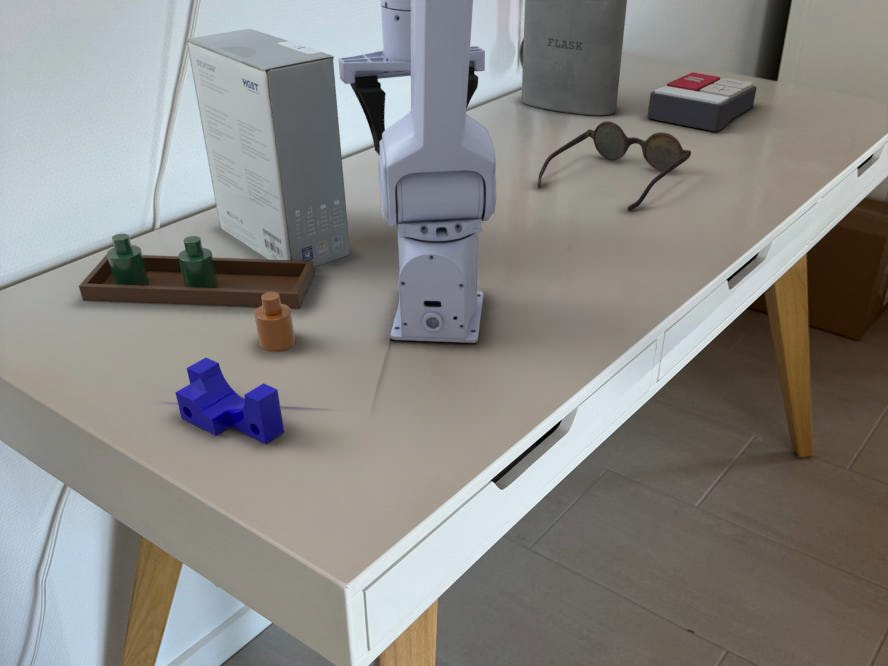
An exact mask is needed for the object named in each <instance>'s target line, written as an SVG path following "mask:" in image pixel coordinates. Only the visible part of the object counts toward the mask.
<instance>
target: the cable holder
mask: <svg viewBox="0 0 888 666" xmlns="http://www.w3.org/2000/svg"><path fill="white" fill-rule="evenodd" d="M186 372H187V376H188V381H189V384H188V385H186V386H184V387H182V388H181V389H179V390H177V391H175V392H174V393H175V398H176V401H177V406H178V409H179V414H180V418H181V419H182V420H183V421H186V422H188V423H190V424H192V425H193V426H196V428H197V427H198V428H200V429H201V430H203V431H205V432H207V433H209V434H212V435H213V436H218V435H219V434H221V433H223V432H224V431H226V430H227V429H229V428H231V429H233V430H236V431H238V432H240V433H242V434H244V435H246V436H248V437H251V438H252V439H254V440H256V441H258V442H260V443H262V444H265V445H267V444H268V443H270V442H271V441H273V440H275V439H276V438H277V437H279V436H280V435H282V434H284V433H285V429H284V421H283V416H282V415H283V414H282V409H281V402H280V397H279V390H278V389H277V388H276V387H273V386H271V385H269V384H268V383H267V384H266V383H264V382H263V383H261V384H259V385H257V387H255V388H253V389H251V390H249V391H248V392H246V393H245V394H243V396H244V397H242V396H241V395H239V393H237V392H236V391H235V390H234V389H233V388H232V387H231V385H230V384H229V382H228V381H227V380H226V378H225V376H224V374H223V372H222V370H221V366H220V363H219V362H218V361H216V360H213V359H211V358H208V357H204V358H202V359H201V360H198V361H197V362H195V363H193V364H190V365H189V366H188V367H186Z"/></svg>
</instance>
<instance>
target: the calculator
mask: <svg viewBox="0 0 888 666" xmlns="http://www.w3.org/2000/svg"><path fill="white" fill-rule="evenodd" d="M757 88H758V87H757V86H755V85H754V82H753V81H747V80H742V79H741V80H740V79H734V78H729V77H723V78H721V76H717V75H712V74H705V73H700V72H689V73H687V74H685V75H683V76H680V77H679V78H676V79H674V80H672V81H669V82H667V83H666V85H663V86H661V87H659V88H656V89H655V90H654V91H651V92H650V94H649V101H648V109H647V119H649V120H654V121H659V122H665V123H669V124H676V125H679V126H685V127H690V128H695V129H699V130H700V129H701V130H705V131H711V132H719V131H721V130H722V129H724V128H726V127H727V125H728V124H729V122H730V121H731V120H732V119H734V118H736V117H738V116H740V115H741V114H743V113H745V112H747V111H748V110H750V109H752V108H753V107H754V104H755V99H756V95H757V94H756V93H757Z"/></svg>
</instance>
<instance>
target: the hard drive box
mask: <svg viewBox="0 0 888 666" xmlns="http://www.w3.org/2000/svg"><path fill="white" fill-rule="evenodd" d="M186 45H187V50H188V51H187V52H188V55H189V56H188V57H189V63H190V66H191V71H192V78H193V83H194V84H193V85H194V89H195V95H196V101H197V108H198V112H199V118H200V123H201V130H202V134H203V140H204V145H205V151H206V157H207V162H208V167H209V168H208V169H209V174H210V178H211V183H212V191H213V195H214V201H215V206H216V213H217V217H218V223H219V227H220V229H221V230H223V231H224V232H226V233H227V234H229V235H231V236H232V237H234V238H235V239H236V240H238V241H239V242H241V243H243V244H244V245H246V246H248V247H249V248H250V249H252V250H253V251H255V252H256V253H258V254H259V255H261V256H263V257H264V259H268V260H296V261H313V266H314V268H315V267H317V266H321V265H323V264H328V263H329V262H333V261H336V260H338V259H342V258H344V257H347V256H349V255H351V249H350V237H349V236H350V235H349V225H348V213H347V201H346V190H345V179H344V178H345V177H344V168H343V157H342V145H341V135H340V123H339V113H338V112H339V111H338V100H337V90H336V89H337V88H336V75H335V65H334V60H335V59H334V58H335V56H334V55H332V54H329V53H325V52H323V51H320V50H318V49H314V48H311V47H307V46H305V45H303V44H299V43H297V42H293V41H291V40H287V39H284V38H282V37H276V36H274V35H271V34H268V33H265V32H262V31H258V30H255V29H252V28H245V29H244V28H243V29H240V30H232V31H227V32H226V31H225V32H219V33H213V34H208V35H202V36H195V37H190V38H187V41H186Z"/></svg>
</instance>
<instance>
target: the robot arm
mask: <svg viewBox="0 0 888 666" xmlns="http://www.w3.org/2000/svg"><path fill="white" fill-rule="evenodd" d="M473 7H474V0H380V10H381V30H382V47H383V48H382V49H383V50H377V51H374V52H368V53H363V54H358V55H353V56H346V57H338V60H337V61H338V69H339V70H338V71H339V79H340V80H341V82H342V83H344V85H350V87H351V89H352V91H353V93H354V95H355V96H356V98H357V101H358V103H359V105H360V107H361V109H362V111H363V114H364V117H365V119H366V121H367V125H368V127H369V131H370V133H371V137H372V141H373V145H374V146H373V147H374V151H375V152H376V153H377V155H378V158H377V162H378V163H377V166H378V169H377V171H378V184H379V186H378V187H379V197H380V207H381V215H382V220H383V221H384V222H386V223H387V225H388V226H389V227H396V231H397V247H398V248H397V249H398V267H399V268H398V269H399V273H398V299H399V302H398V305H397V309H396V312H395V316H394V319H393V323H392V327H391V331H390V339H391V340H395V341H412V342H413V341H416V342H440V343H441V342H443V343H464V344H465V343H467V344H474V343H477V342H478V341H479V334H480V327H481V326H480V325H481V320H482V319H481V318H482V311H483V304H484V303H483V302H484V292H483V291H481V290H478V248H479V247H478V242H479V240H478V237H479V235H478V234H479V233H482V231H483V222H488V221H489V220H490V219H491V217H492V216H493V215H494V214H495V211H496V206H497V173H496V172H497V171H496V169H497V157H496V150H495V146H494V143H493V142H494V141H493V139H492V136H491V135H490V133H489V131H488V129H487V127H486V126H485V125H484V124H482V123H481V122H479V121H478V120H476V119H474V118H473V117H471V116H470V115H468V114H467V109H468V107H469V105H470V102H471V100H472V98H473V96H474V94H475V93H476V91H477V89H478V86H479V75H477V74H475V73H477V72H484V71H486V50H484V49H483V48H481V47H480V46H478V45H474V46H473V45H472V46H471V42H472V41H471V39H472V25H473V23H472V22H473V10H474V9H473ZM400 77H410V111H409V112H408V113H407V114H405V115H404V116H403V117H402V118H400V119H399V120H397V121H396V122H394V123H393V124H391V125H390V126H389V127H387V128H386V127H385V125H386V124H385V112H386V111H385V109H386V94H387V93H386V92H385V91H384V90H383V89H382V83H381V82H380V81H379V80H381V79H390V78H400Z"/></svg>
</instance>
